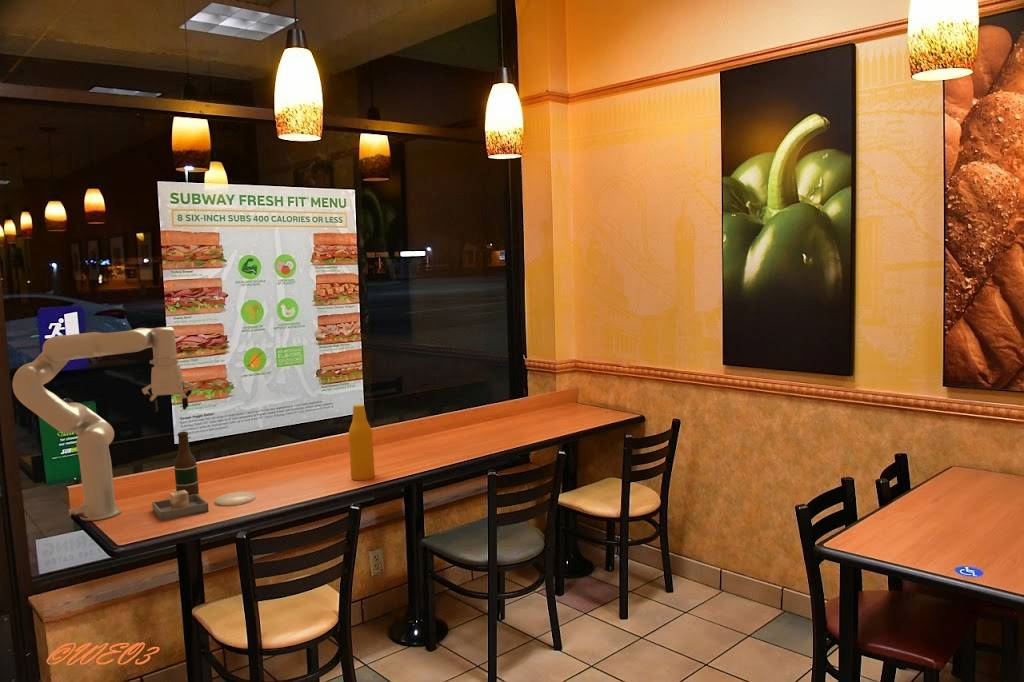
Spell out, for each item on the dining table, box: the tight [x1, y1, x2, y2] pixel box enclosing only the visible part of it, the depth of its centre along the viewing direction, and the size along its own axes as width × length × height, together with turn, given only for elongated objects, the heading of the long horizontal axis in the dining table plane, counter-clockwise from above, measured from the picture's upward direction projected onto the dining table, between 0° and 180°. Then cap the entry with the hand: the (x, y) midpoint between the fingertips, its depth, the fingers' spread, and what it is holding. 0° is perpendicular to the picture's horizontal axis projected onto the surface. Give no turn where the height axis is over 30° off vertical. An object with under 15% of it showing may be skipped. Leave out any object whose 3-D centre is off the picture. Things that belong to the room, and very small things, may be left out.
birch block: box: [169, 490, 189, 510], centre depth 270 cm, size 5×5×6 cm
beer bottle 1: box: [173, 431, 200, 495], centre depth 290 cm, size 8×8×24 cm
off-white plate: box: [214, 491, 257, 507], centre depth 281 cm, size 14×14×1 cm
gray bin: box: [151, 493, 209, 522], centre depth 270 cm, size 15×15×3 cm
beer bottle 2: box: [348, 404, 376, 482], centre depth 304 cm, size 9×9×29 cm
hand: (170, 410), depth 273 cm, fingers open, 9 cm apart
